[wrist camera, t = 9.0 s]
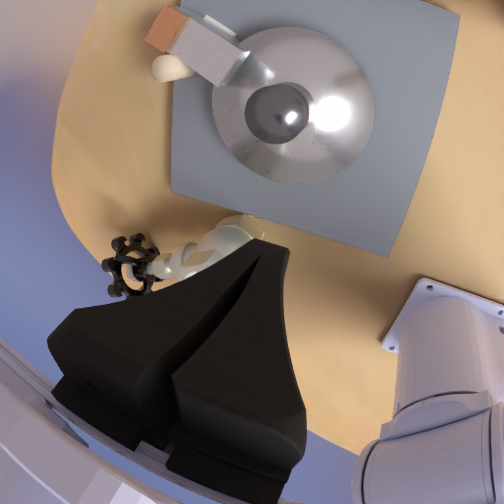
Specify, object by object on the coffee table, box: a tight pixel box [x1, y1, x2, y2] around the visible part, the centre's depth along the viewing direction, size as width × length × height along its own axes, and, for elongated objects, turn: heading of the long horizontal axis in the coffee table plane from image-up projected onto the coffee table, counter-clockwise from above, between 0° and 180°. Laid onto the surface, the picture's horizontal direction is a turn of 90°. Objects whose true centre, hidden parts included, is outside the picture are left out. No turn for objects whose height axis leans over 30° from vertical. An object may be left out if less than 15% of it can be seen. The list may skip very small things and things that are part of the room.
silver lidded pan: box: [144, 4, 374, 185], centre depth 15 cm, size 14×9×4 cm, turn 56°
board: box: [151, 0, 460, 258], centre depth 16 cm, size 16×16×4 cm
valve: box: [101, 214, 265, 300], centre depth 24 cm, size 7×7×12 cm
